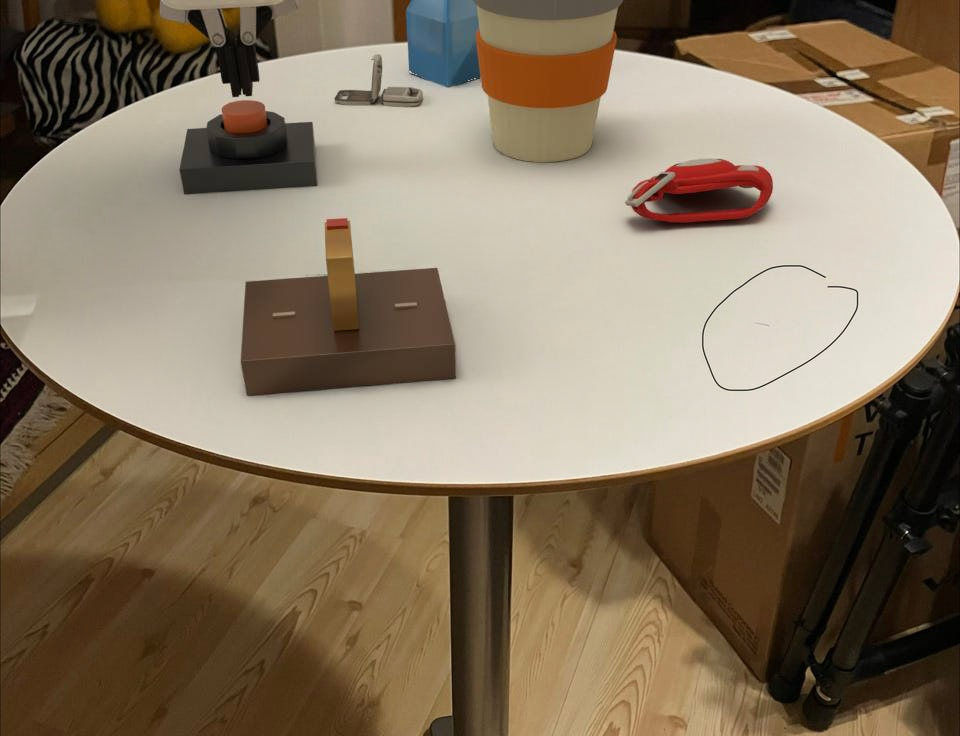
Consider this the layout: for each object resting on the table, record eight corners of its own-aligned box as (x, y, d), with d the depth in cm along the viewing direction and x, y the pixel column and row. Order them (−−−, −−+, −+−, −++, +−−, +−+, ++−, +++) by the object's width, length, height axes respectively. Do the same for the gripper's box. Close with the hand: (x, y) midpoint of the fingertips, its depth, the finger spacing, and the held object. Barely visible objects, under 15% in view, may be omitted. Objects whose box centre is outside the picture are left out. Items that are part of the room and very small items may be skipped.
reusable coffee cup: (552, 107, 101) (558, -64, 92) (640, 147, 94) (658, -35, 84) (446, 137, 96) (441, -42, 86) (531, 182, 88) (536, -9, 78)
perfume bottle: (447, 87, 106) (444, -42, 98) (409, 73, 109) (403, -54, 102) (492, 73, 109) (492, -53, 101) (453, 60, 113) (450, -64, 105)
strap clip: (423, 97, 104) (422, 53, 101) (419, 108, 102) (417, 63, 99) (340, 94, 105) (336, 50, 102) (333, 105, 102) (329, 60, 100)
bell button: (223, 137, 87) (220, 116, 85) (225, 121, 89) (222, 101, 88) (267, 134, 87) (264, 114, 86) (268, 119, 90) (265, 98, 89)
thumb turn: (359, 329, 65) (352, 252, 62) (333, 331, 65) (325, 254, 62) (356, 290, 69) (349, 216, 65) (332, 292, 69) (324, 217, 65)
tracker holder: (661, 157, 89) (780, 147, 84) (664, 210, 91) (781, 203, 86) (613, 177, 79) (746, 166, 75) (618, 236, 81) (747, 229, 76)
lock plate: (246, 395, 64) (240, 359, 62) (250, 313, 72) (245, 279, 70) (456, 378, 65) (455, 341, 64) (438, 299, 73) (437, 265, 71)
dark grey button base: (184, 194, 87) (174, 147, 84) (191, 153, 93) (183, 108, 91) (317, 186, 88) (312, 139, 85) (315, 145, 94) (310, 101, 92)
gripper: (86, -157, 71) (146, 113, 83) (307, -165, 72) (334, 101, 84) (101, -174, 76) (155, 81, 88) (306, -181, 78) (331, 71, 90)
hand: (242, 90), depth 86 cm, fingers closed
